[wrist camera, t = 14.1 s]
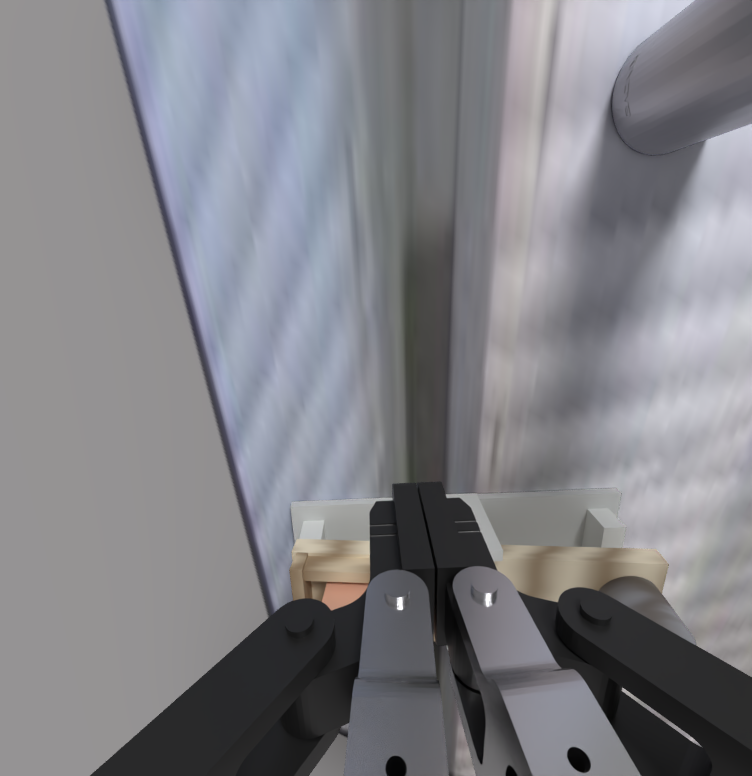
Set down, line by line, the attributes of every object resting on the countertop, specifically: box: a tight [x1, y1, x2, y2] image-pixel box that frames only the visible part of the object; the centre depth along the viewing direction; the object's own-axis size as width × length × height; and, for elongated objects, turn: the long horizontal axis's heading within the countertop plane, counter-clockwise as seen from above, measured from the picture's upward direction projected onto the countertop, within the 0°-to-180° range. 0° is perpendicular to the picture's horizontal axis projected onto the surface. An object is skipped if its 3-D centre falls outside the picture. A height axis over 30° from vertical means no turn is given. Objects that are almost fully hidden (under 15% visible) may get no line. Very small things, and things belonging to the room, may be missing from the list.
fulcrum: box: [291, 488, 626, 650], centre depth 43 cm, size 38×12×10 cm, turn 92°
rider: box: [322, 582, 369, 610], centre depth 38 cm, size 6×5×5 cm
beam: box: [289, 539, 696, 645], centre depth 38 cm, size 36×9×7 cm, turn 92°
